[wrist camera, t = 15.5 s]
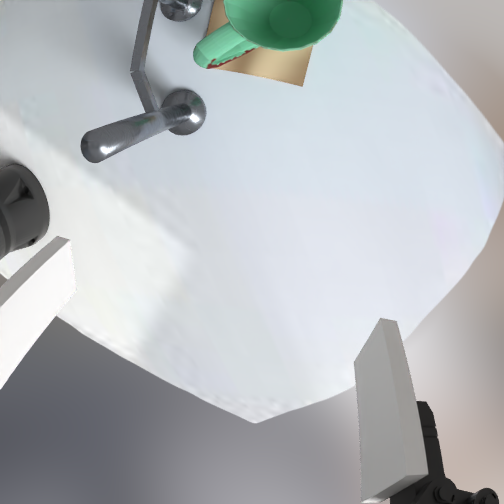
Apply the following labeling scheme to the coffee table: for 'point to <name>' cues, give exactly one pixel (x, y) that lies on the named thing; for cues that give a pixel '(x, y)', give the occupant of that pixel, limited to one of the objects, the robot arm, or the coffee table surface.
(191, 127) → the metal wall bracket
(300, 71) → the coaster
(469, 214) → the coffee table surface
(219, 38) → the mug
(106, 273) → the coffee table surface
